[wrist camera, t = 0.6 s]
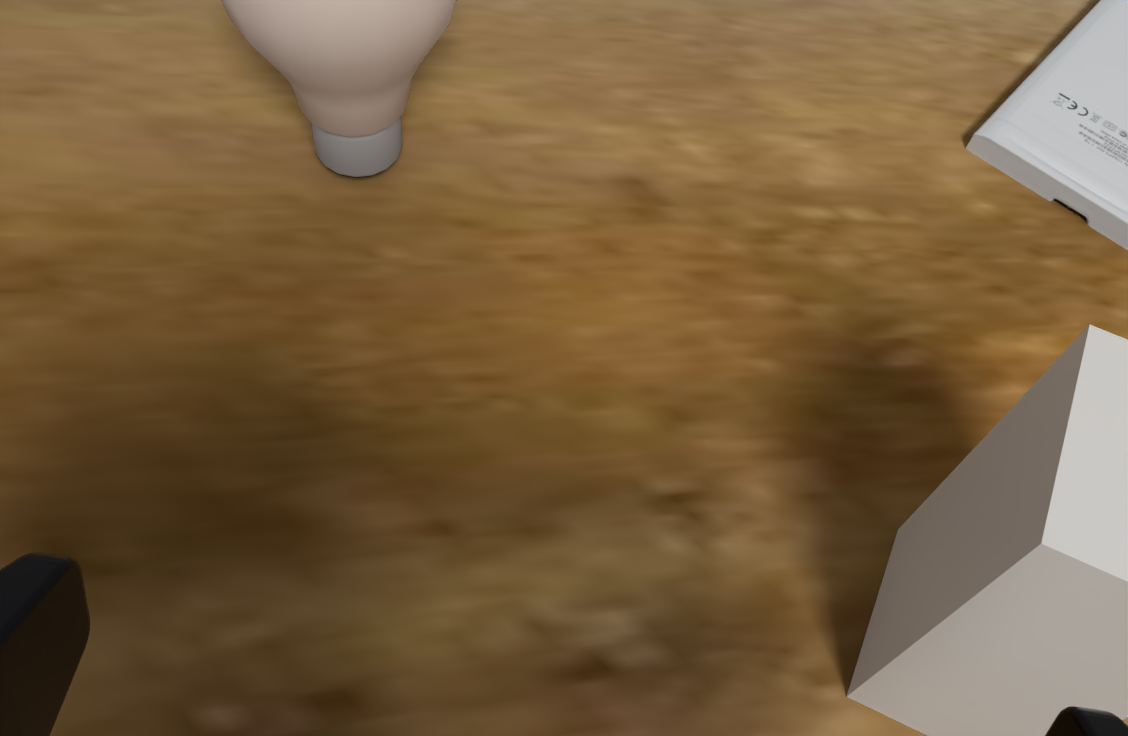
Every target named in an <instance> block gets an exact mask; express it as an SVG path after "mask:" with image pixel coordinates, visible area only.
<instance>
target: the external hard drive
mask: <svg viewBox="0 0 1128 736" xmlns="http://www.w3.org/2000/svg"><path fill="white" fill-rule="evenodd" d="M965 149H966V150H968V151H970V152H971V153H973V154H974V155H976V156H978V157H979V158H981V159H983V160H984V161H986V162H987V163H989V164H991V165H992V166H994V167H995V168H997V169H999V170H1000V171H1002V172H1003V173H1005V174H1007V175H1008V176H1010V177H1011V178H1013V179H1015V180H1016V181H1018V182H1019V183H1021V184H1023V185H1024V186H1026V187H1027V188H1029V189H1031V190H1032V191H1034V192H1035V193H1037V194H1039V195H1040V196H1042V197H1043V198H1045V199H1047V200H1048V201H1057V202H1059V203H1061V204H1062V205H1064V206H1065V207H1067V208H1068V209H1069V210H1073V211H1074V212H1076V213H1078V214H1079V215H1081V216H1082V217H1083V218H1084V219H1085V220H1086V223H1087V225H1088V226H1090V227H1091V228H1093V229H1095V230H1096V231H1098V232H1099V233H1101V234H1103V235H1104V236H1106V237H1107V238H1109V239H1111V240H1112V241H1114V242H1115V243H1117V244H1118V245H1120V246H1122V247H1123V248H1125V249H1126V250H1128V0H1100V1H1099V2H1098V3H1097V4H1096V5H1095V6H1094V7H1093V8H1092V10H1091V11H1090V12H1089V13H1088V14H1087V15H1086V16H1085V17H1084V18H1083V19H1082V20H1081V21H1080V22H1079V23H1078V24H1077V25H1076V26H1075V27H1074V28H1073V30H1072V31H1071V32H1070V33H1069V34H1068V35H1067V36H1066V37H1065V38H1064V39H1063V40H1062V41H1061V42H1060V43H1059V44H1058V46H1057V47H1056V48H1055V49H1054V50H1053V51H1052V52H1051V53H1050V54H1049V55H1048V56H1047V57H1046V58H1045V59H1044V60H1043V61H1042V62H1041V63H1040V64H1039V66H1038V67H1037V68H1036V69H1035V70H1034V71H1033V72H1032V73H1031V74H1030V75H1029V76H1028V77H1027V78H1026V79H1025V80H1024V81H1023V82H1022V83H1021V85H1020V86H1019V87H1018V88H1017V89H1016V90H1015V91H1014V92H1013V93H1012V94H1011V95H1010V96H1009V97H1008V98H1007V99H1006V101H1005V102H1004V103H1003V104H1002V105H1001V106H1000V107H999V108H998V109H997V110H996V111H995V112H994V113H993V114H992V115H991V117H990V118H989V119H988V120H987V121H986V122H985V123H984V124H983V125H982V126H981V127H980V128H979V129H978V130H977V131H976V132H975V133H974V134H973V136H972V138H971V140H970V142H969V143H968V145H967V146H966V148H965Z"/></svg>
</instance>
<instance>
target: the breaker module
mask: <svg viewBox="0 0 1128 736" xmlns="http://www.w3.org/2000/svg"><path fill="white" fill-rule="evenodd" d="M846 697H848V698H850V699H852V700H854V701H856V702H858V703H860V704H862V705H865V706H867V707H869V708H871V709H873V710H875V711H877V712H879V713H881V714H883V715H885V716H888V717H890V718H892V719H894V720H896V721H898V722H900V723H902V724H904V725H906V726H908V727H910V728H913V729H915V730H917V731H919V732H921V733H923V734H925V735H927V736H1045V735H1046V733H1047V731H1048V730H1049V728H1050V727H1051V725H1052V723H1053V722H1054V720H1055V719H1056V717H1057V715H1058V714H1059V713H1060V712H1061V711H1062V710H1063V709H1065V708H1067V707H1069V706H1076V707H1083V708H1090V709H1097V710H1103V711H1108V712H1110V713H1113V714H1115V715H1116V716H1118V717H1119V718H1120V719H1121V720H1123V719H1125V718H1127V717H1128V340H1127V339H1124V338H1122V337H1119V336H1117V335H1114V334H1112V333H1109V332H1107V331H1104V330H1102V329H1100V328H1097V327H1095V326H1092V325H1089V326H1088V327H1087V328H1086V329H1085V330H1084V331H1083V332H1082V333H1081V334H1080V335H1079V337H1078V338H1077V339H1076V340H1075V341H1074V342H1073V343H1072V344H1071V345H1070V346H1069V347H1068V348H1067V349H1066V350H1065V352H1064V353H1063V354H1062V355H1061V356H1060V357H1059V358H1058V359H1057V360H1056V361H1055V362H1054V363H1053V364H1052V365H1051V366H1050V368H1049V369H1048V370H1047V371H1046V372H1045V373H1044V374H1043V375H1042V376H1041V377H1040V378H1039V379H1038V380H1037V381H1036V383H1035V384H1034V385H1033V386H1032V387H1031V388H1030V389H1029V390H1028V391H1027V392H1026V393H1025V394H1024V395H1023V396H1022V398H1021V399H1020V400H1019V401H1018V402H1017V403H1016V404H1015V405H1014V406H1013V407H1012V408H1011V409H1010V410H1009V411H1008V412H1007V414H1006V415H1005V416H1004V417H1003V418H1002V419H1001V420H1000V421H999V422H998V423H997V424H996V425H995V426H994V427H993V429H992V430H991V431H990V432H989V433H988V434H987V435H986V436H985V437H984V438H983V439H982V440H981V441H980V442H979V444H978V445H977V446H976V447H975V448H974V449H973V450H972V451H971V452H970V453H969V454H968V455H967V456H966V457H965V458H964V460H963V461H962V462H961V463H960V464H959V465H958V466H957V467H956V468H955V469H954V470H953V471H952V472H951V473H950V475H949V476H948V477H947V478H946V479H945V480H944V481H943V482H942V483H941V484H940V485H939V486H938V487H937V488H936V490H935V491H934V492H933V493H932V494H931V495H930V496H929V497H928V498H927V499H926V500H925V501H924V502H923V503H922V504H921V506H920V507H919V508H918V509H917V510H916V511H915V512H914V513H913V514H912V515H911V516H910V517H909V518H908V519H907V521H906V522H905V523H904V524H903V525H902V526H901V527H900V528H899V529H898V531H897V534H896V538H895V541H894V544H893V547H892V551H891V554H890V557H889V560H888V564H887V567H886V570H885V573H884V576H883V580H882V583H881V586H880V589H879V593H878V596H877V599H876V602H875V606H874V609H873V612H872V615H871V619H870V622H869V625H868V628H867V632H866V635H865V638H864V641H863V645H862V648H861V651H860V654H859V658H858V661H857V664H856V667H855V671H854V674H853V677H852V680H851V684H850V687H849V690H848V693H847V696H846Z"/></svg>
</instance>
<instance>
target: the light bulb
mask: <svg viewBox="0 0 1128 736" xmlns="http://www.w3.org/2000/svg"><path fill="white" fill-rule="evenodd" d="M221 1H222V3H223V5H224V7H225V9H226V11H227V13H228V15H229V17H230V19H231V20H232V22H233V23H234V24H235V26H236V27H237V28H238V29H239V31H240V32H241V33H242V34H243V36H244V37H245V38H246V39H247V41H248V42H249V43H250V44H251V46H252V47H253V48H255V49H256V50H257V51H258V52H259V53H260V54H261V55H262V56H263V57H264V58H265V59H266V60H267V61H269V62H270V63H271V64H272V65H273V66H274V67H275V68H276V69H277V70H278V71H279V72H280V73H281V74H282V75H283V76H284V77H285V78H286V79H287V80H288V81H289V82H290V84H291V86H292V88H293V91H294V94H295V97H296V99H297V102H298V105H299V108H300V110H301V111H302V112H303V114H304V115H305V116H306V117H307V119H308V120H309V121H310V122H311V125H312V132H313V138H314V144H315V151H316V155H317V156H318V158H319V159H320V160H321V161H322V163H323V164H324V165H325V166H326V167H327V168H329V169H331V170H333V171H334V172H336V173H338V174H342V175H347V176H352V177H361V176H370V175H374V174H377V173H379V172H381V171H383V170H386V169H388V168H389V167H390V166H391V165H392V164H393V163H394V162H395V161H396V160H397V159H398V156H399V153H400V150H401V147H402V132H401V115H402V114H403V113H404V110H405V107H406V104H407V101H408V98H409V91H410V84H411V79H412V77H413V75H414V74H415V72H416V70H417V69H418V67H419V65H420V64H421V62H422V61H423V59H424V58H425V57H426V55H427V54H428V53H429V51H430V50H431V49H432V47H433V46H434V45H435V43H436V42H437V41H438V39H439V38H440V36H441V35H442V34H443V32H444V31H445V30H446V28H447V27H448V25H449V22H450V19H451V16H452V13H453V10H454V7H455V4H456V1H457V0H221Z"/></svg>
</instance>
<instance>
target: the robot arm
mask: <svg viewBox="0 0 1128 736" xmlns="http://www.w3.org/2000/svg"><path fill="white" fill-rule="evenodd" d="M89 630H90V616H89V611H88V605H87V599H86V594H85V588H84V583H83V577H82V571H81V568H80V565H79V564H78V562H77V561H76V560H75V559H73V558H71V557H66V556H59V555H52V554H46V553H37V552H34V553H29V554H26V555H23V556H22V557H20V558H18V559H16V560H15V561H13V562H12V563H10V564H8V565H7V566H5V567H4V568H2V569H1V570H0V736H50V733H51V731H52V728H53V726H54V723H55V721H56V718H57V716H58V713H59V711H60V709H61V706H62V704H63V701H64V699H65V696H66V694H67V691H68V689H69V686H70V684H71V681H72V679H73V676H74V674H75V672H76V669H77V667H78V664H79V662H80V659H81V657H82V654H83V652H84V649H85V647H86V644H87V640H88V636H89ZM1045 736H1128V726H1127V725H1126V724H1125V723H1124V722H1123V721H1122V720H1121V719H1120V718H1119V717H1118V716H1116V715H1115V714H1113V713H1110V712H1108V711H1103V710H1097V709H1090V708H1083V707H1076V706H1069V707H1067V708H1065V709H1063V710H1062V711H1061V712H1060V713H1059V714H1058V715H1057V717H1056V719H1055V720H1054V722H1053V723H1052V725H1051V727H1050V728H1049V730H1048V731H1047V733H1046V735H1045Z"/></svg>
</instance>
